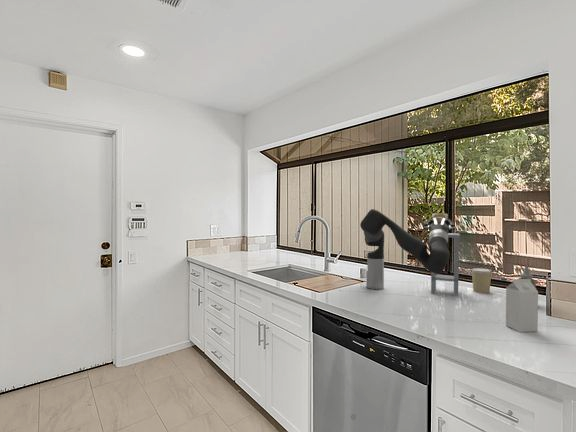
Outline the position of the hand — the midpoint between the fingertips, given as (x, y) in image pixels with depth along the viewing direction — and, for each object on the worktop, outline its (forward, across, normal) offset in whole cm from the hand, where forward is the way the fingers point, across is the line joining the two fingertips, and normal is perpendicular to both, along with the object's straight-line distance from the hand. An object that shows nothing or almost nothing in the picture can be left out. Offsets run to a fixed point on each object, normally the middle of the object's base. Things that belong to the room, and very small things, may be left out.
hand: (439, 215), depth 155 cm
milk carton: (-40, +29, -26) cm, 56 cm away
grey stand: (-1, +2, -48) cm, 49 cm away
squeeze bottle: (-7, +37, -45) cm, 59 cm away
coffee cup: (+8, +20, -54) cm, 59 cm away
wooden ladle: (+2, 0, -4) cm, 4 cm away
